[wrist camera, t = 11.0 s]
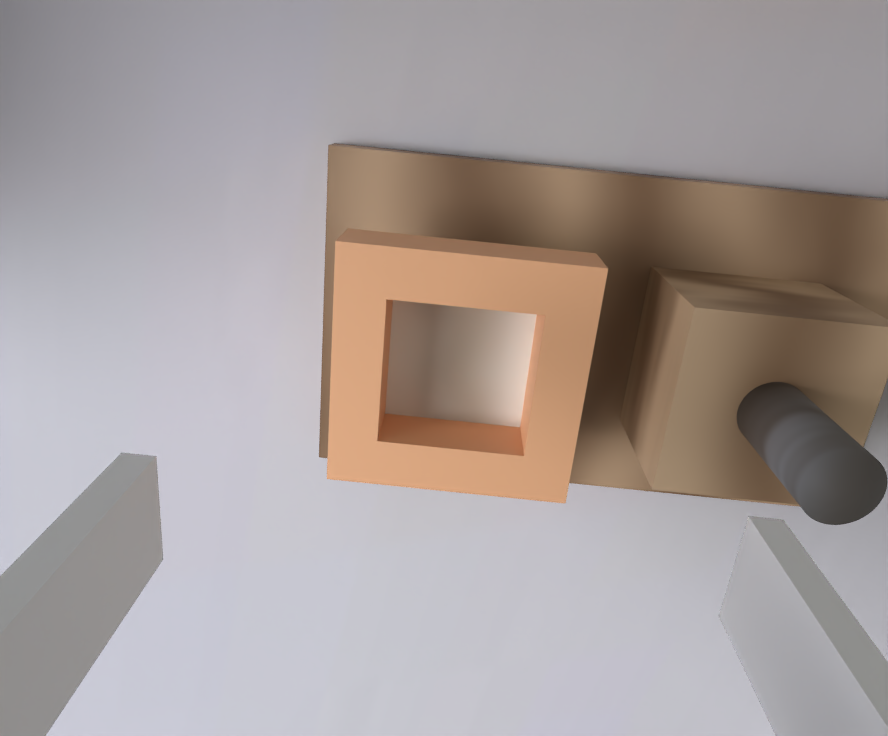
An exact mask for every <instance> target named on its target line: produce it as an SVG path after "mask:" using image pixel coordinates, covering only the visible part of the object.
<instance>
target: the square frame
mask: <svg viewBox="0 0 888 736" xmlns="http://www.w3.org/2000/svg"><path fill="white" fill-rule="evenodd" d="M607 273H608V268H607V266H606V265H605V264H604V262H603V261H602V260H601V259H600V257H599V256H598V255H597V254H596V253H588V252H578V251H568V250H558V249H548V248H539V247H529V246H519V245H509V244H499V243H489V242H479V241H469V240H459V239H449V238H439V237H430V236H420V235H410V234H400V233H390V232H380V231H370V230H360V229H350V228H348V229H347V230H346V231H345V232H344V233H343V234H342V235H341V236H340V237H339V238H338V239H337V240H336V241H335V264H334V292H333V321H332V349H331V377H330V405H329V433H328V462H327V479H333V480H342V481H352V482H362V483H372V484H381V485H391V486H401V487H411V488H420V489H430V490H440V491H450V492H459V493H469V494H479V495H488V496H498V497H508V498H518V499H527V500H537V501H547V502H557V503H565V502H566V497H567V492H568V486H569V481H570V475H571V470H572V464H573V459H574V453H575V448H576V442H577V437H578V431H579V426H580V421H581V415H582V410H583V404H584V399H585V393H586V388H587V382H588V377H589V371H590V366H591V360H592V355H593V350H594V344H595V339H596V333H597V328H598V322H599V317H600V311H601V306H602V300H603V295H604V289H605V284H606V279H607ZM393 300H398V301H408V302H418V303H428V304H438V305H447V306H457V307H467V308H477V309H487V310H497V311H507V312H517V313H526V314H536V315H537V316H536V323H535V330H534V336H533V343H532V350H531V357H530V363H529V370H528V377H527V384H526V390H525V397H524V404H523V411H522V417H521V424H520V427H513V426H503V425H493V424H483V423H473V422H464V421H454V420H444V419H434V418H424V417H415V416H405V415H395V414H385V409H386V394H387V379H388V365H389V350H390V335H391V321H392V306H393Z"/></svg>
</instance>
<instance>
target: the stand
mask: <svg viewBox="0 0 888 736" xmlns="http://www.w3.org/2000/svg"><path fill="white" fill-rule="evenodd" d="M348 228H350V229H360V230H370V231H380V232H390V233H400V234H410V235H420V236H430V237H439V238H449V239H459V240H469V241H479V242H489V243H499V244H509V245H519V246H529V247H539V248H548V249H558V250H568V251H578V252H588V253H596V254H597V255H598V256H599V257H600V259H601V260H602V261H603V262H604V264H605V265H606V266H607V268H608V273H607V279H606V284H605V289H604V295H603V300H602V306H601V311H600V317H599V322H598V328H597V333H596V339H595V344H594V350H593V355H592V360H591V366H590V371H589V377H588V382H587V388H586V393H585V399H584V404H583V410H582V415H581V421H580V426H579V431H578V437H577V442H576V448H575V453H574V459H573V464H572V470H571V475H570V481H569V483H575V484H585V485H595V486H605V487H614V488H624V489H634V490H644V491H653V492H663V493H673V494H683V495H692V496H702V497H712V498H722V499H731V500H741V501H751V502H761V503H770V504H780V505H790V506H800V507H801V508H802V509H803V510H804V512H805V513H806V514H807V515H808V516H809V517H811V518H812V519H814V520H816V521H818V522H821V523H824V524H830V525H840V524H847V523H850V522H854V521H856V520H859V519H861V518H863V517H864V516H866V515H867V514H869V513H870V512H871V511H873V510H874V509H875V508H876V507H877V505H878V504H879V503H880V502H881V500H882V498H883V496H884V494H885V491H886V488H887V475H886V472H885V469H884V467H883V466H882V464H881V463H880V462H879V461H878V460H877V459H876V458H875V457H873V456H872V455H871V454H870V453H869V452H868V451H867V450H866V449H865V448H863V447H864V444H865V441H866V438H867V436H868V433H869V430H870V427H871V424H872V422H873V419H874V416H875V413H876V410H877V407H878V405H879V402H880V399H881V396H882V393H883V391H884V388H885V385H886V382H887V379H888V199H884V198H874V197H864V196H854V195H844V194H834V193H824V192H814V191H804V190H794V189H784V188H774V187H764V186H754V185H744V184H734V183H724V182H714V181H704V180H694V179H684V178H674V177H664V176H654V175H644V174H634V173H624V172H615V171H605V170H595V169H585V168H575V167H565V166H555V165H545V164H535V163H525V162H515V161H505V160H495V159H485V158H475V157H465V156H455V155H445V154H435V153H425V152H415V151H405V150H395V149H385V148H375V147H365V146H355V145H345V144H335V143H334V144H331V145H329V146H328V179H327V212H326V245H325V278H324V311H323V344H322V377H321V410H320V443H319V457H322V458H328V433H329V405H330V377H331V349H332V321H333V292H334V264H335V241H336V240H337V239H338V238H339V237H340V236H341V235H342V234H343V233H344V232H345V231H346V230H347V229H348ZM536 316H537V315H536V314H526V313H517V312H507V311H497V310H487V309H477V308H467V307H457V306H447V305H438V304H428V303H418V302H408V301H398V300H393V306H392V321H391V335H390V350H389V365H388V379H387V394H386V409H385V414H395V415H405V416H415V417H424V418H434V419H444V420H454V421H464V422H473V423H483V424H493V425H503V426H513V427H520V424H521V417H522V411H523V404H524V397H525V390H526V384H527V377H528V370H529V363H530V357H531V350H532V343H533V336H534V330H535V323H536Z"/></svg>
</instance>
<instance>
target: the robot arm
mask: <svg viewBox="0 0 888 736" xmlns="http://www.w3.org/2000/svg"><path fill="white" fill-rule="evenodd" d="M162 560H163V549H162V534H161V519H160V505H159V490H158V475H157V460H156V456H149V455H139V454H129V453H121V454H120V455H119V456H118V457H117V458H116V459H115V460H114V461H113V462H112V463H111V464H110V465H109V466H108V467H107V468H106V469H105V470H104V471H103V472H102V473H101V474H100V475H99V476H98V477H97V478H96V479H95V480H94V481H93V482H92V483H91V484H90V485H89V487H88V488H87V489H86V490H85V491H84V492H83V493H82V494H81V495H80V496H79V497H78V498H77V499H76V500H75V501H74V502H73V503H72V504H71V505H70V506H69V507H68V508H67V509H66V510H65V511H64V512H63V513H62V514H61V515H60V516H59V517H58V518H57V519H56V520H55V521H54V522H53V523H52V524H51V525H50V526H49V527H48V528H47V529H46V530H45V531H44V532H43V533H42V534H41V535H40V536H39V537H38V538H37V539H36V540H35V541H34V542H33V544H32V545H31V546H30V547H29V548H28V549H27V550H26V551H25V552H24V553H23V554H22V555H21V556H20V557H19V558H18V559H17V560H16V561H15V562H14V563H13V564H12V565H11V566H10V567H9V568H8V569H7V570H6V571H5V572H4V573H3V574H2V575H1V576H0V736H46V734H47V733H48V731H49V730H50V728H51V727H52V725H53V724H54V722H55V721H56V719H57V718H58V716H59V715H60V713H61V712H62V710H63V709H64V707H65V706H66V704H67V703H68V701H69V700H70V698H71V697H72V695H73V694H74V692H75V691H76V689H77V688H78V686H79V685H80V683H81V682H82V680H83V679H84V677H85V676H86V674H87V673H88V671H89V670H90V668H91V667H92V665H93V664H94V662H95V661H96V659H97V658H98V656H99V655H100V653H101V652H102V650H103V649H104V647H105V646H106V644H107V643H108V641H109V640H110V638H111V637H112V635H113V634H114V632H115V631H116V629H117V628H118V626H119V625H120V623H121V622H122V620H123V619H124V617H125V616H126V614H127V613H128V611H129V610H130V608H131V607H132V605H133V604H134V602H135V601H136V599H137V598H138V596H139V595H140V593H141V592H142V590H143V589H144V587H145V586H146V584H147V583H148V581H149V580H150V578H151V577H152V575H153V574H154V572H155V571H156V569H157V568H158V566H159V565H160V563H161V562H162ZM719 617H720V620H721V622H722V624H723V626H724V628H725V630H726V632H727V634H728V636H729V638H730V641H731V643H732V645H733V647H734V649H735V651H736V653H737V655H738V657H739V659H740V662H741V664H742V666H743V668H744V670H745V672H746V674H747V676H748V678H749V681H750V683H751V685H752V687H753V689H754V691H755V693H756V695H757V697H758V699H759V702H760V704H761V706H762V708H763V710H764V712H765V714H766V716H767V718H768V720H769V723H770V725H771V727H772V729H773V731H774V733H775V735H776V736H888V662H887V660H886V659H885V658H884V656H883V655H882V654H881V652H880V651H879V649H878V648H877V647H876V645H875V644H874V643H873V641H872V640H871V639H870V637H869V636H868V634H867V633H866V632H865V630H864V629H863V628H862V626H861V625H860V624H859V622H858V621H857V620H856V618H855V617H854V615H853V614H852V613H851V611H850V610H849V609H848V607H847V606H846V605H845V603H844V602H843V600H842V599H841V598H840V596H839V595H838V594H837V592H836V591H835V590H834V588H833V587H832V586H831V584H830V583H829V581H828V580H827V579H826V577H825V576H824V575H823V573H822V572H821V571H820V569H819V568H818V566H817V565H816V564H815V562H814V561H813V560H812V558H811V557H810V556H809V554H808V553H807V552H806V550H805V549H804V547H803V546H802V545H801V543H800V542H799V541H798V539H797V538H796V537H795V535H794V534H793V532H792V531H791V530H790V528H789V527H788V526H787V524H786V523H785V522H784V520H781V519H771V518H761V517H752V516H748V520H747V523H746V526H745V530H744V533H743V536H742V540H741V543H740V546H739V549H738V553H737V556H736V559H735V563H734V566H733V569H732V573H731V576H730V579H729V583H728V586H727V589H726V593H725V596H724V599H723V603H722V606H721V609H720V613H719Z"/></svg>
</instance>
